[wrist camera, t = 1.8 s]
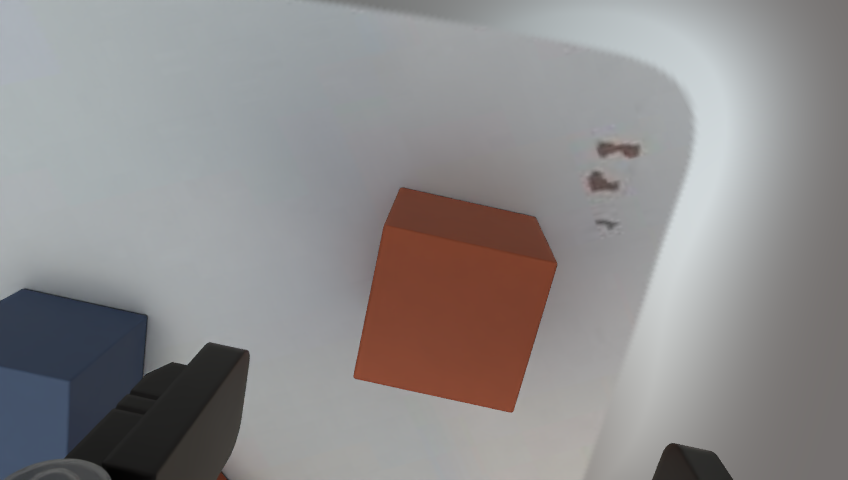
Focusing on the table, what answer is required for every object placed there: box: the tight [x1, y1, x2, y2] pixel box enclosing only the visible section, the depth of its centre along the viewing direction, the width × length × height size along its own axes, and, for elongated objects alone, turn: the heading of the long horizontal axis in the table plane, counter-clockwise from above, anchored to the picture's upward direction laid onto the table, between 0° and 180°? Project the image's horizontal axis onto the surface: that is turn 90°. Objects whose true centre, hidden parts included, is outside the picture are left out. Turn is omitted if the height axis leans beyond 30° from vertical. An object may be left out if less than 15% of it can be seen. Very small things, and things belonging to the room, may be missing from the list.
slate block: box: [0, 289, 147, 480], centre depth 19 cm, size 4×4×4 cm
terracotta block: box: [354, 188, 557, 412], centre depth 18 cm, size 4×4×4 cm
